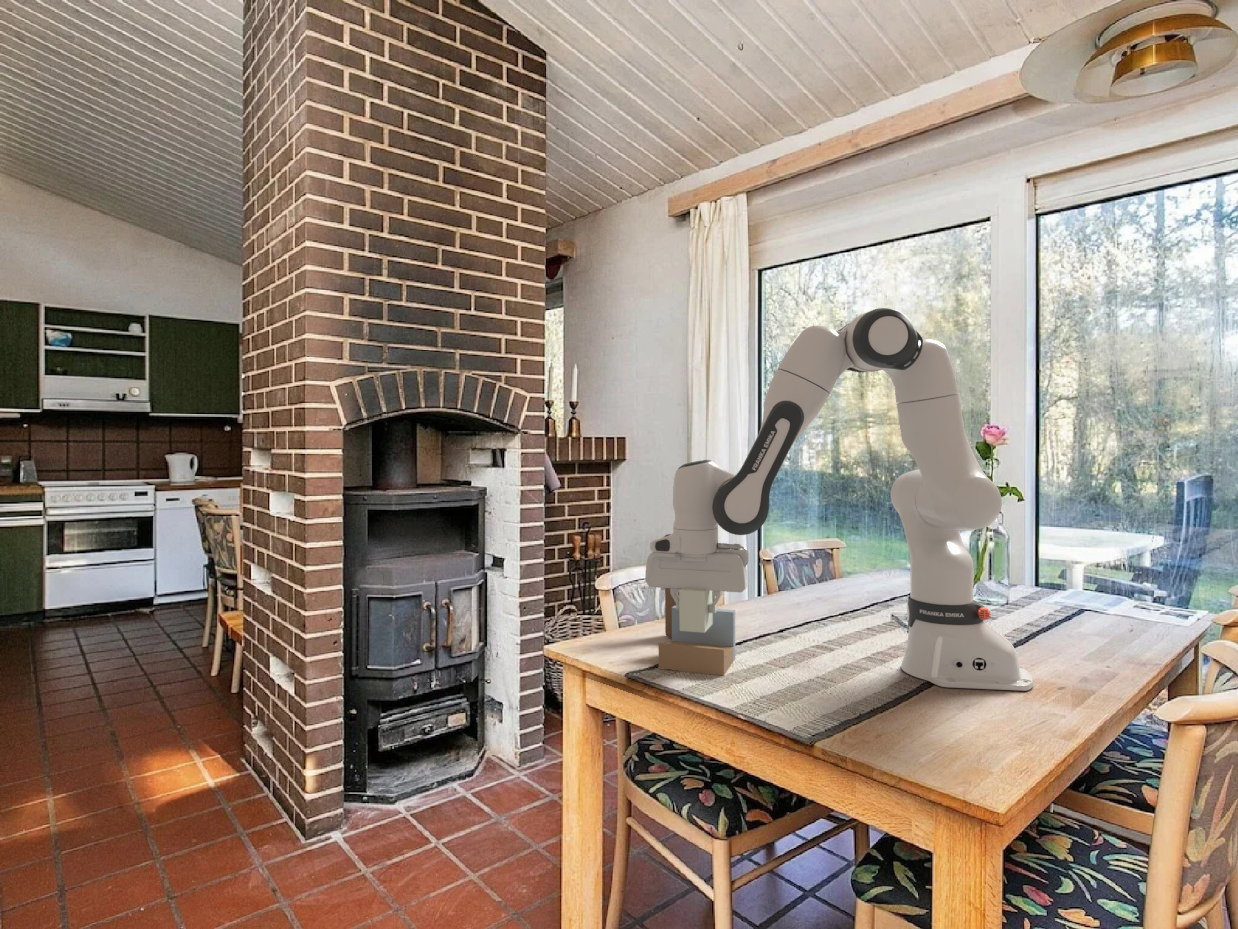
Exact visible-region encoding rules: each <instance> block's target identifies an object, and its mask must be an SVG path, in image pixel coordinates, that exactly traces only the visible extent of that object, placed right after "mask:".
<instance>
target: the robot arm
mask: <svg viewBox="0 0 1238 929" xmlns="http://www.w3.org/2000/svg"><path fill="white" fill-rule="evenodd" d="M882 370H883V371H884V372H885V373H886V374H887V375H888V376H889V378H890V380H891V381H892V384H893V386H894V396H895V403H896V409H897V415H898V416H897V417H898V424H899V430H900V436H901V442H902V444H903V445H904V447H905V449H907V450H908V451H909V453H910V454H911V455H912V457H913V459H914V461H915V463H916V465H917V469H915V470H910V471H907V472H905V473H903V474H901V475H899V476H898V477H897V478H896V479H895V480H894V482H893V484H892V486H891V489H890V500H891V505H892V506H893V508H894V509H895V511H896V512H897V514H898V516H899V518H900V521H901V524H902V527H903V530H904V535H905V538H906V543H907V548H908V553H909V563H910V564H909V568H910V569H909V572H910V574H909V575H910V594H909V596H908V598H907V604H906V606H907V607H906V618H907V619H906V620H907V625H908V634H907V640H906V647H905V652H904V655H903V658H902V661H901V665H900V668H901V670H902V671H904V673H906V674H908V675H910V676H912V677H914V678H918V679H921V680H923V681H928V682H930V683H932V684H934V685H936V686H939V687H942V688H954V689H955V688H957V689H977V690H979V689H980V690H998V691H999V690H1000V691H1001V690H1002V691H1025V692H1026V691H1030V690H1031V689H1033V687H1034V678H1033V676H1032V674H1031V673H1030V672H1029V671H1028V670H1027V669H1025V668H1024V667H1022V666H1020V662H1019V656H1018V653H1017V651H1016V649H1015V647H1014V645H1013V644H1012V642H1011V641H1010V640H1008V639H1007V638H1006V637H1005V636H1003V635H1002V634H1001V633H999V632H998V631H997V630H996V629H994V628H993V627H992V626H990V625H989V624H988V623H987V622H986V621H987V620H989V618H991V611H990V610H989V609H988V607H985V605H983V604H981V603H980V602H979V601H978V602H977V601H976V600H974V571H975V570H974V567H975V566H974V565H975V564H974V560H973V558H972V556H971V554H970V553H969V551H968V550H967V548H966V546H965V544H964V541H963V540H962V537H961V533H960V532H965V531H966V532H968V531H976V530H981V529H985V528H987V527H989V526H990V525H992V524H993V523H995V521H996V520H997V519H998V517H999V515H1000V513H1001V510H1002V501H1003V500H1002V494H1001V492H1000V489H999V488H998V486H997V485H996V483H995V482H993V481H992V480H991V479H990V478H989V477H988V476H987V475H986V473H985V472H984V471H983V469H982V468H981V465H980V463H979V462H978V459H977V457H976V456H975V453H974V451H973V449H972V447H971V444H970V441H969V438H968V436H967V432H966V429H965V422H964V416H963V410H962V404H961V399H960V392H959V386H958V385H959V384H958V382H957V381H958V380H957V377H956V376H957V375H956V372H955V369H954V365H953V363H952V359H951V356H950V354H949V351H948V348H947V347H946V345H944V344H943V343H942V342H940V341H938V340H935V339H927V338H926V339H925V338H923V336H922V335H921V334H920V333H919V332H918V331H917V329H916V328H915V327H914V325H913V323H912V322H911V320H910V319H909V318H908V317H907V316H906V315H905V314H904V313H902V312H901V311H899V310H896V309H893V308H889V307H879V308H874V309H871V310H870V311H867V312H864V313H861V314H859V315H858V316H857V317H855V318H854V319H853V320H851V322H849V323H847V324H846V325H844V326H843V327H841V328H840V329H838V330H836V329H833V328H831V327H828V326H823V325H811V326H808V327H806V328H805V329H803V330H802V331H801V333H800V334H799V335H798V336H797V337H796V339H795V340H794V341H793V343H792V344H791V346H790V347H789V348H788V349H787V352H786V353H785V354H784V356H783V358H782V359H781V361H780V363H779V365H778V367H777V369H776V371H775V373H774V375H773V377H772V379H771V381H770V384H769V386H768V389H767V392H766V396H765V399H764V403H763V416H762V422H761V426H760V430H759V432H758V435H757V436H756V439H755V441H754V442H753V444H752V446H751V448H750V450H749V452H748V454H747V457H745V460H744V462H743V464H742V466H741V467H740V469H739V471H737V473H734V472H732V471H729V470H727V469H726V468H724V467H722V466H720V465H718V464H717V463H715V462H714V461H713V460H710V459H704V460H697V461H691V462H689V463H684V464H682V465H681V466H679V467H678V468H677V470H675V474H674V478H673V487H672V488H673V489H672V491H673V492H672V507H673V510H674V521H673V528H672V531H673V532H672V533H669V534H665V535H663V536H660V537H657V538H655V539H653V540H651V541H650V545H649V549H650V551H651V553H650V554H649V555H648V556H647V559H646V565H645V577H644V578H645V583H646V584H647V586H648V587H649V588H661V589H665V588H670V594H671V596H672V597H673V599H674V601H675V602H676V611H679V595H678V592H679V590H680V589H681V588H687V589H704V590H708V591H712V597H715V598H714V600H712V603H709V604H708V613H716V612H717V609H718V603H719V601H720V599H721V597H722V596H723V592H725V593H726V592H727V593H728V592H729V593H743V592H744V591H745V590H746V589H747V587H748V586H749V579H748V570H747V566H748V564H749V552H748V549H747V548H746V547H745V546H743V545H742V544H740V543H726V542H725V543H721V542H719V528H721V529H722V530H724V531H725V532H727V533H728V534H732V535H736V536H746V535H750V534H752V533H755V532H756V531H758V530H759V529H760V528H761V527H763V525H764V524H765V522H766V521H767V519H768V516H769V510H770V509H769V508H770V492H771V488H772V487H773V483H774V481H775V479H776V478H777V475H778V473H779V471H780V469H781V468H782V465H783V463H784V462H785V460H786V457H787V456H788V453H789V452H790V450H791V448H792V446H793V445H794V444H795V442H796V441H797V439H798V438H799V437H800V435H801V434H802V433H803V432H804V431H805V430H806V429H807V427H809V425H810V424H811V423H812V422H813V421H814V419H815V418H816V417H817V416H818V414H819V413H820V411H821V410H822V408H823V407H824V405H825V404H826V402H827V400H828V398H829V397H830V394H831V392H832V390H833V388H834V387H835V385H836V383H837V381H838V379H839V378H840V376H841V375H842V374H843V373H844V372H845V371H850V372H856V373H869V372H870V373H872V372H879V371H882Z"/></svg>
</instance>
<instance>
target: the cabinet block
mask: <svg viewBox="0 0 1238 929" xmlns="http://www.w3.org/2000/svg"><path fill="white" fill-rule="evenodd" d="M709 603H713V591H708V590H704V589H687V588H681V589H680V590H679V615H680V631H689V632H702V633H705V632H706V631H707V630H708V629H709V627H710V626H711V625H712V624H713V613H708V604H709Z"/></svg>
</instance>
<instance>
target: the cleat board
mask: <svg viewBox="0 0 1238 929" xmlns="http://www.w3.org/2000/svg"><path fill="white" fill-rule="evenodd" d="M735 659H736V610H735V609H726V608H725V609H724V608H717V612H716V613H713V624H712V625H711V626H710V627H709V629H708V630H707V631H706V632H705V633H702V632H689V631H680V615H679V611H676V606H673V607H672V639H671V641H670V642H662V641H661V642H658V669H660V670H666V669H672V670H671V671H676V670H678V671H677V672H684V673H685V672H686V673H695V674H703V675H704V674H705V675H713V676H723V677H724V676H725V675H726V673H727V672H728V670H729V669H730V668H731V665H732V664H733V662H734V661H735Z"/></svg>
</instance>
